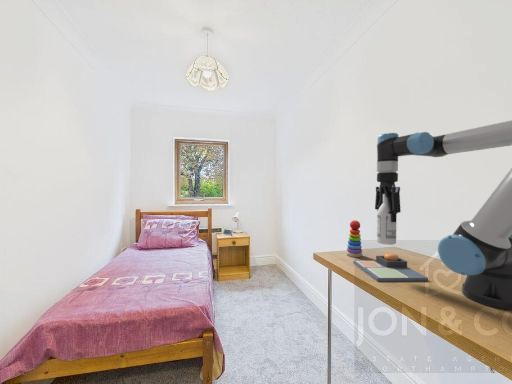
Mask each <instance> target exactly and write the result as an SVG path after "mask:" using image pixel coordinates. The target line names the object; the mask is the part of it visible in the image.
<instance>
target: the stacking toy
mask: <svg viewBox="0 0 512 384" xmlns="http://www.w3.org/2000/svg"><path fill="white" fill-rule="evenodd" d="M349 227H350V229H349V237H348V241H347V244H346V245H347V248H346V250H347V251H346V255H347V256H349V257H352V258H361V257H362V256H363V249H362V242H361V240H362V238H361V230H360V228H361V222H359V220H355V219H354V220H351V221H350V223H349Z"/></svg>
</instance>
